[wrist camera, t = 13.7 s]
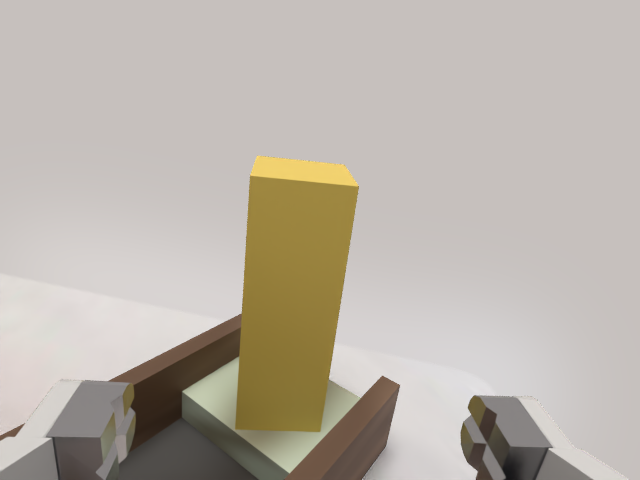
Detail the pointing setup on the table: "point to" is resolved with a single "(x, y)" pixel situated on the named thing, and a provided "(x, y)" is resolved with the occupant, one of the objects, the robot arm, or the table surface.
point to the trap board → (220, 415)
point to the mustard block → (292, 290)
